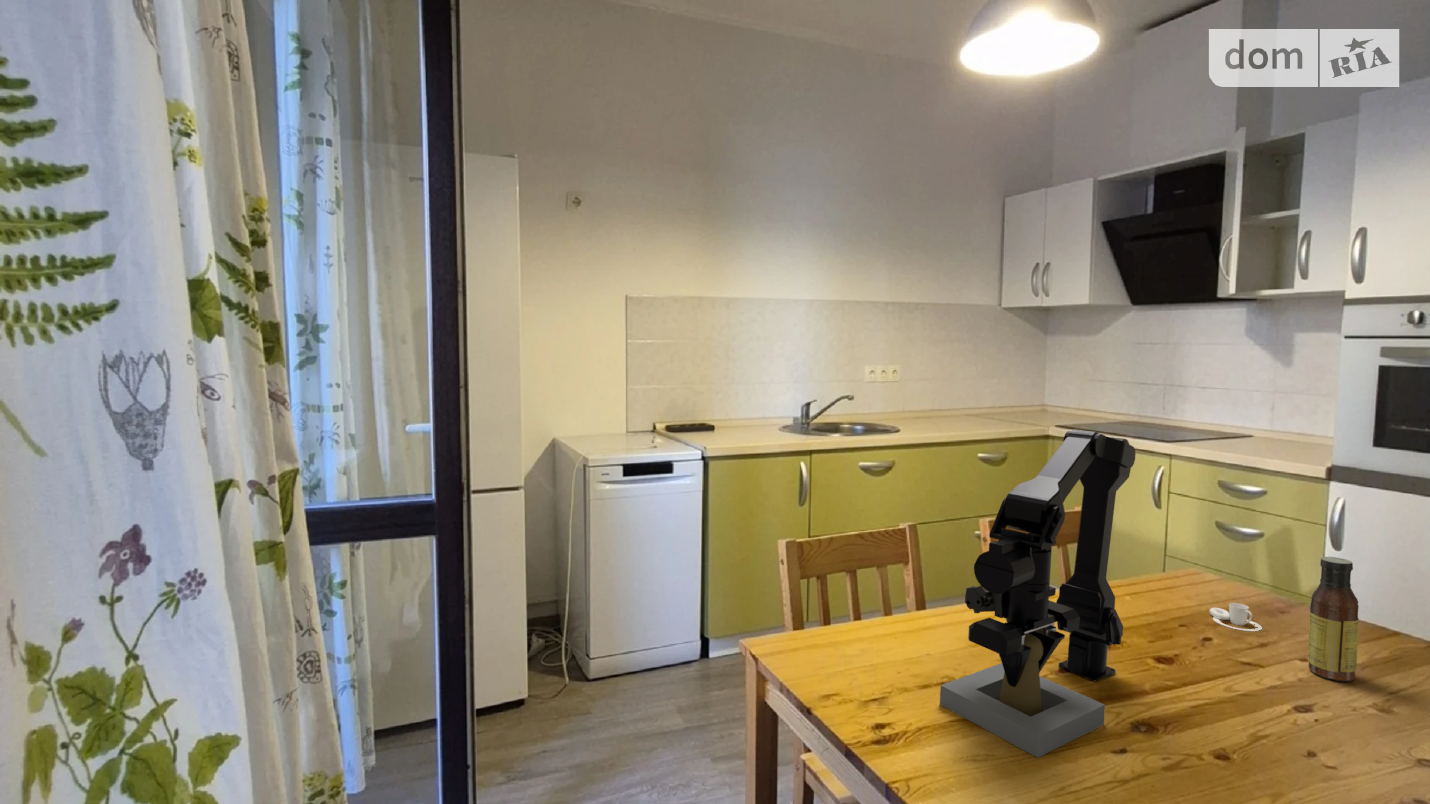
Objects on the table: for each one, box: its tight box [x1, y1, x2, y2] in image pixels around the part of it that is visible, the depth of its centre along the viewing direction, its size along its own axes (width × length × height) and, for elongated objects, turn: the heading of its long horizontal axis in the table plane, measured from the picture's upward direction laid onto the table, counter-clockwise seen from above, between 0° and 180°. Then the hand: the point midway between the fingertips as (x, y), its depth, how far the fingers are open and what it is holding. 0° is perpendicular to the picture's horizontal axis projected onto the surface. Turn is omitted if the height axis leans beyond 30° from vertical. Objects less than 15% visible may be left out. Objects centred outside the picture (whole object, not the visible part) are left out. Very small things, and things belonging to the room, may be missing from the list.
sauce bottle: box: [1307, 556, 1360, 683], centre depth 118 cm, size 7×6×20 cm
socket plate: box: [939, 662, 1106, 759], centre depth 104 cm, size 16×16×3 cm
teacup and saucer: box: [1209, 602, 1263, 632], centre depth 141 cm, size 9×8×4 cm
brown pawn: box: [998, 633, 1043, 717], centre depth 103 cm, size 6×6×11 cm
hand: (1022, 681), depth 103 cm, fingers closed on brown pawn, 4 cm apart
